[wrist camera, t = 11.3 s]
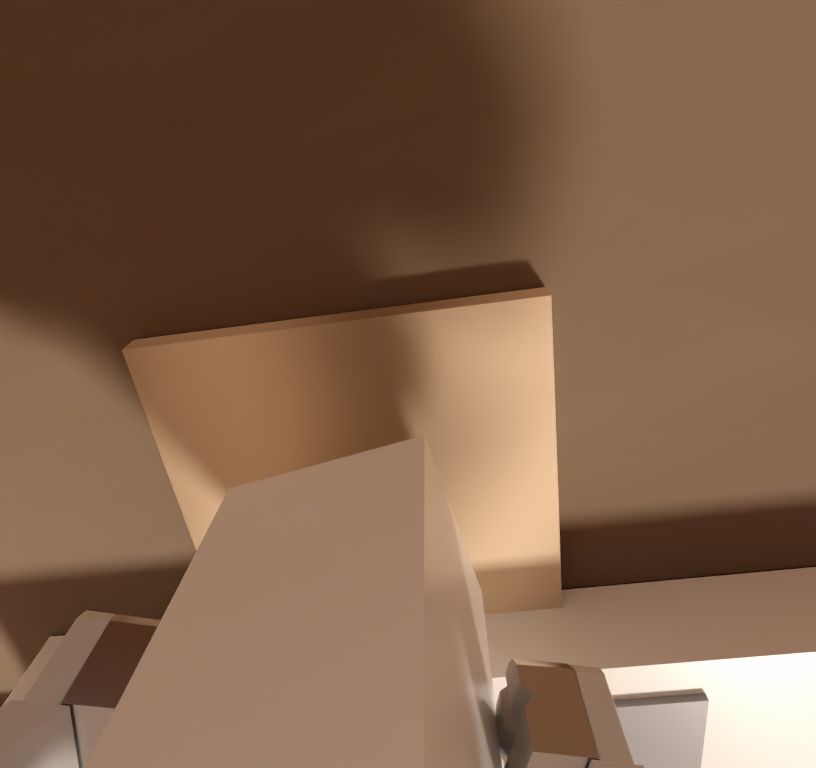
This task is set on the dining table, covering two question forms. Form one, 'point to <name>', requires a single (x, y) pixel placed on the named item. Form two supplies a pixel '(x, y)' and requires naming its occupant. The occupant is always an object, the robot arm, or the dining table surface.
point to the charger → (319, 632)
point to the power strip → (674, 664)
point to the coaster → (378, 417)
